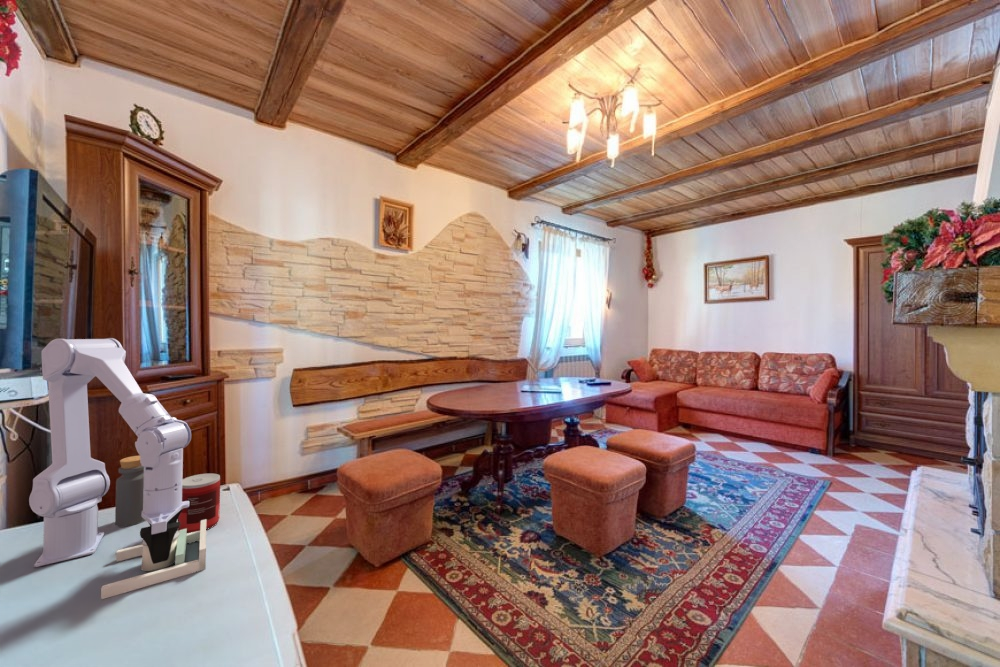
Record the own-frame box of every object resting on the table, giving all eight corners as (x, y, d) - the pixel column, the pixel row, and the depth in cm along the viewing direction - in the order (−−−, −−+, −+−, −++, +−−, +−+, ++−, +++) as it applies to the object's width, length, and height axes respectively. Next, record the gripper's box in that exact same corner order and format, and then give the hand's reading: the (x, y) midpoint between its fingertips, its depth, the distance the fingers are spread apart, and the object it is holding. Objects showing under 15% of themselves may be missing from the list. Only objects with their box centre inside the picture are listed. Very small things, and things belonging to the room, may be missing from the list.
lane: (117, 559, 75) (117, 539, 75) (206, 537, 83) (206, 519, 83) (100, 599, 64) (101, 576, 64) (205, 569, 72) (205, 548, 72)
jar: (141, 561, 74) (144, 534, 74) (177, 553, 77) (180, 527, 77) (137, 574, 70) (140, 545, 70) (176, 565, 73) (178, 538, 73)
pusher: (179, 545, 80) (179, 530, 80) (186, 543, 80) (186, 528, 80) (175, 572, 71) (175, 555, 71) (183, 570, 71) (183, 553, 71)
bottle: (127, 528, 86) (129, 463, 86) (108, 525, 88) (109, 461, 88) (155, 516, 92) (156, 455, 92) (137, 513, 93) (138, 453, 93)
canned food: (199, 516, 92) (200, 472, 92) (228, 519, 91) (228, 474, 91) (167, 532, 85) (168, 484, 85) (198, 536, 84) (199, 486, 84)
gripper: (188, 492, 70) (186, 565, 70) (191, 469, 82) (190, 531, 82) (136, 502, 66) (134, 579, 66) (147, 476, 78) (145, 542, 78)
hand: (162, 554), depth 74 cm, fingers closed on jar, 5 cm apart
